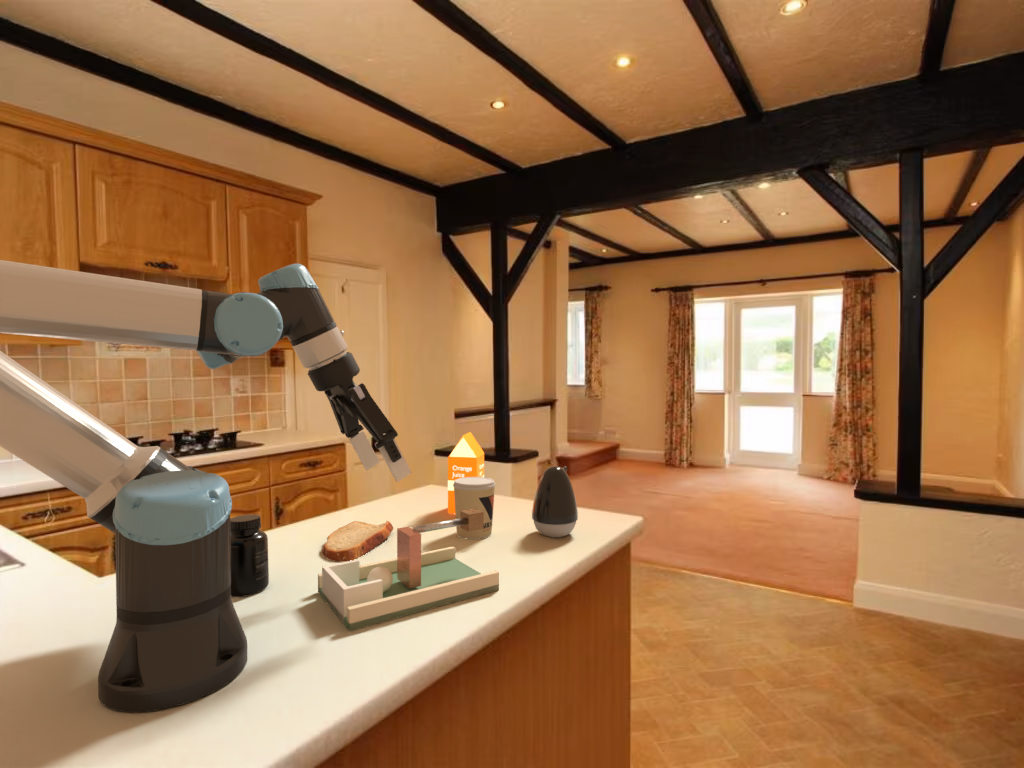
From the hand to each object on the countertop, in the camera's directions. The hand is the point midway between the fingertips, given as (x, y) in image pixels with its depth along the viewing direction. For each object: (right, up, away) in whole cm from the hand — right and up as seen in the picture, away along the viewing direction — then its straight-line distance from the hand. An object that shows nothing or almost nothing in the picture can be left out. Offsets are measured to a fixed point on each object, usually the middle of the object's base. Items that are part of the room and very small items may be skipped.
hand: (387, 471), depth 93 cm
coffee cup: (+13, -19, +28) cm, 36 cm away
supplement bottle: (-23, -19, -2) cm, 30 cm away
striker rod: (+9, -18, 0) cm, 20 cm away
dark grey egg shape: (+31, -19, +29) cm, 46 cm away
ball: (0, -16, -6) cm, 17 cm away
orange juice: (+9, -18, +49) cm, 53 cm away
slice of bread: (-11, -19, +22) cm, 31 cm away
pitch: (+4, -19, -3) cm, 20 cm away
